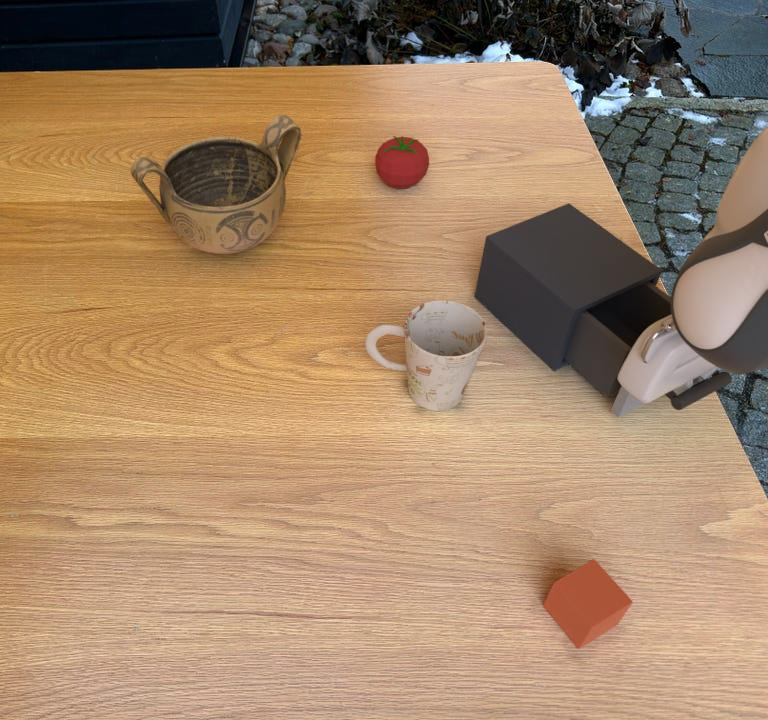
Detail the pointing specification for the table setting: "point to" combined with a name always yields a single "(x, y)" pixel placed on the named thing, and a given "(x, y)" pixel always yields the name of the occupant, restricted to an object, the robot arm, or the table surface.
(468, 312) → the mug
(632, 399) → the drawer
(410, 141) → the tomato
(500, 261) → the cabinet
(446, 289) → the table surface
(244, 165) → the ceramic bowl
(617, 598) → the block
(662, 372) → the robot arm
